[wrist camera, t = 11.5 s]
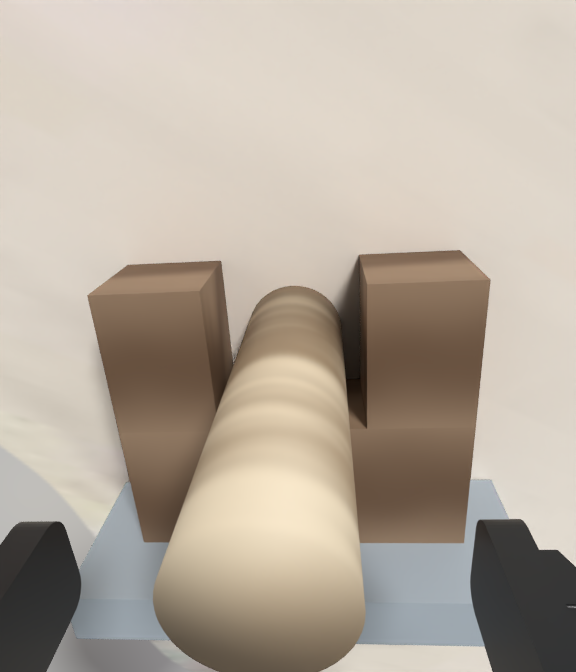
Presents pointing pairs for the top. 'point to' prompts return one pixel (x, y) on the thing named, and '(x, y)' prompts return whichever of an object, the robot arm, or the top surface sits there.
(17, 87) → the top surface
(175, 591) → the dowel
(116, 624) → the wall
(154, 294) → the block
